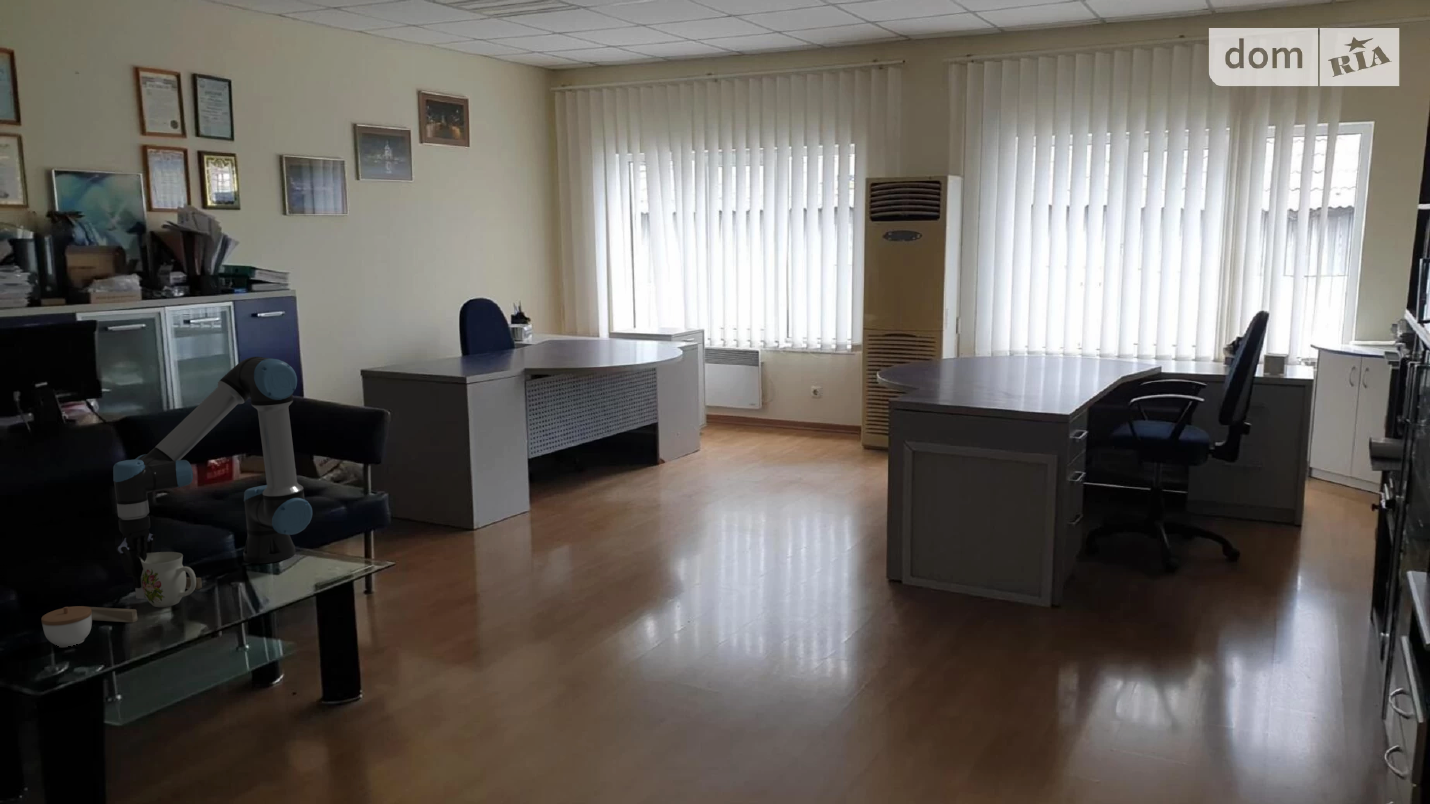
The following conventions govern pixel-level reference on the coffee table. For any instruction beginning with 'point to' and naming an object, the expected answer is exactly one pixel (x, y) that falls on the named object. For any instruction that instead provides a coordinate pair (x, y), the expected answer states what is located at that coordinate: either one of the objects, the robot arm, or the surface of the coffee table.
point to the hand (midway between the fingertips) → (142, 597)
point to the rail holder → (127, 614)
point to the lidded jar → (67, 625)
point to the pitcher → (165, 578)
